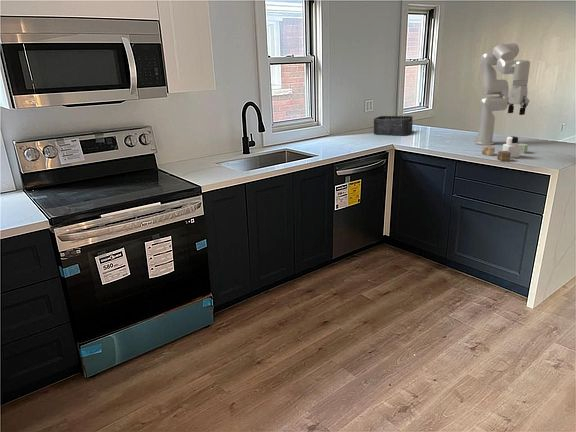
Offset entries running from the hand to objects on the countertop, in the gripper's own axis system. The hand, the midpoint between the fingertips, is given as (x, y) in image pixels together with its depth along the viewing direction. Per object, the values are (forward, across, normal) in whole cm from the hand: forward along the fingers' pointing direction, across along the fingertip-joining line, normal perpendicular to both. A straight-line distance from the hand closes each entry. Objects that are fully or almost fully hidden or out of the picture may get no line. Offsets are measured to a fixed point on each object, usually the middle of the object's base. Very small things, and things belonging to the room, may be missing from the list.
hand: (516, 113), depth 246 cm
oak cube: (+26, -10, -8) cm, 29 cm away
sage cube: (+26, -7, +13) cm, 30 cm away
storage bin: (+25, -107, -29) cm, 114 cm away
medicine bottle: (+26, 0, 0) cm, 26 cm away
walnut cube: (+26, +6, -9) cm, 28 cm away
